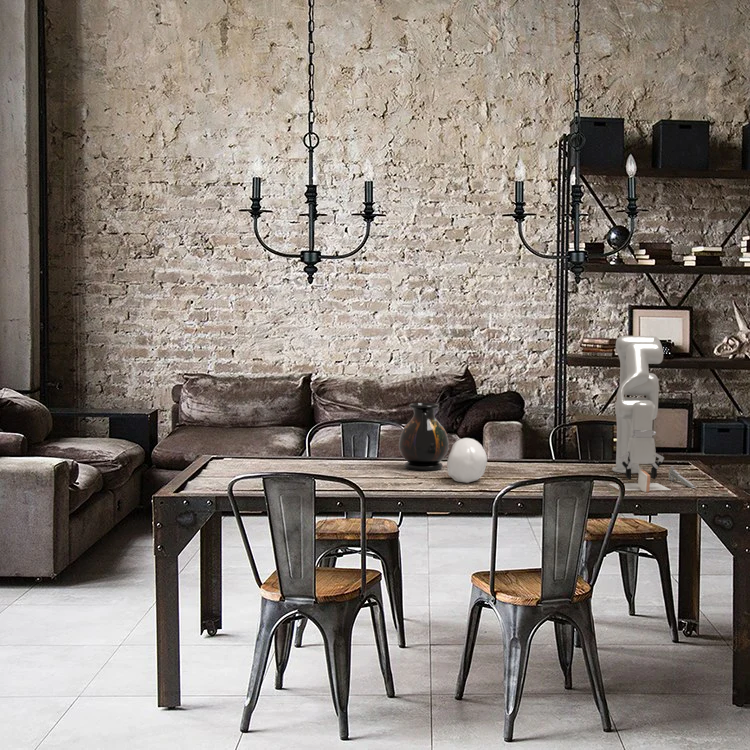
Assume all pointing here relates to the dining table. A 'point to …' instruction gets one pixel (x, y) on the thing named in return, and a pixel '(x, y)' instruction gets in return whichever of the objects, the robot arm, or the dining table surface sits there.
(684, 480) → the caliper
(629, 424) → the robot arm
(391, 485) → the dining table surface
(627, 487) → the mat
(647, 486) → the tile
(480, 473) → the white egg
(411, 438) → the black vase
